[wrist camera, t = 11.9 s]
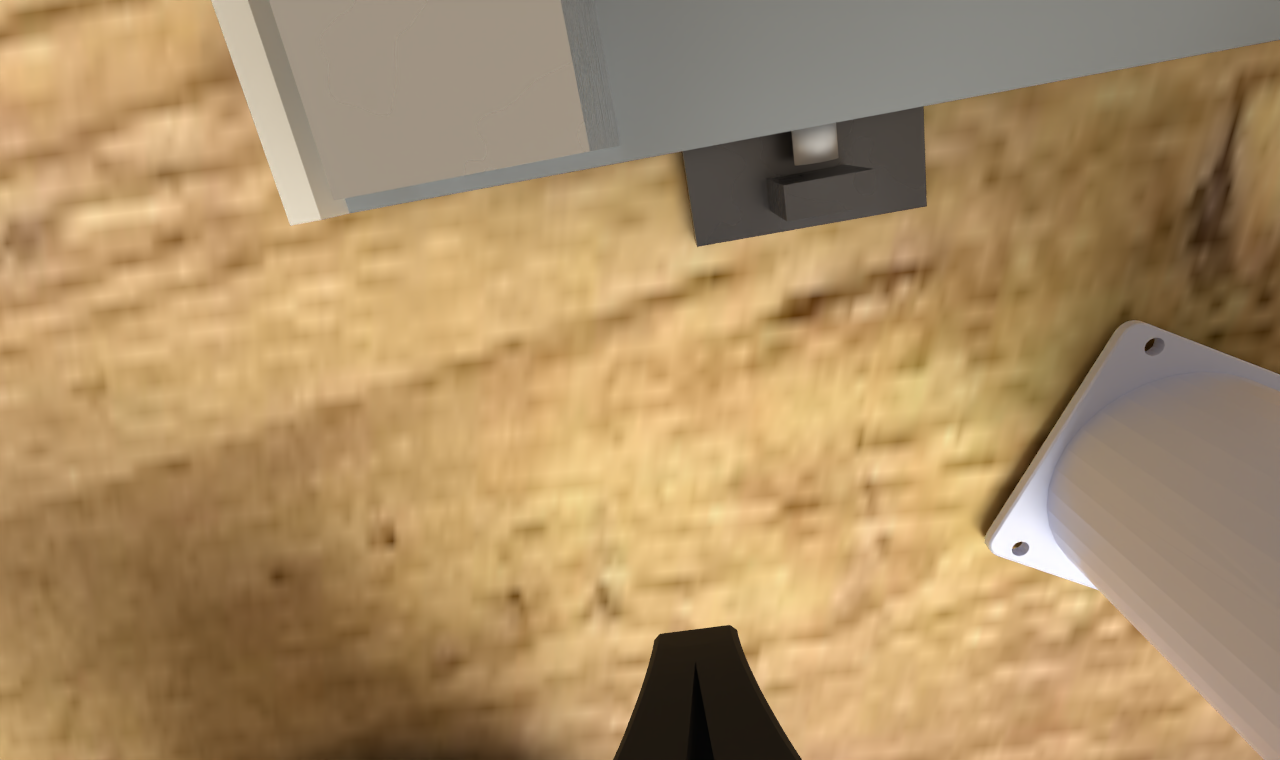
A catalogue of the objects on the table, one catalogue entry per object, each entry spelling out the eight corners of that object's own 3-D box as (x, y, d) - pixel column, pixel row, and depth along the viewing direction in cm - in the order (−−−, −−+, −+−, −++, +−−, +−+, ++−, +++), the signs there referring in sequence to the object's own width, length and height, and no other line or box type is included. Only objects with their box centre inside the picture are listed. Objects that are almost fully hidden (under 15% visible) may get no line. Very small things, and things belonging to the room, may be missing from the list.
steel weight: (573, -118, 13) (522, -197, 10) (620, 145, 15) (590, 150, 12) (347, -57, 14) (233, -111, 11) (415, 184, 16) (333, 200, 12)
